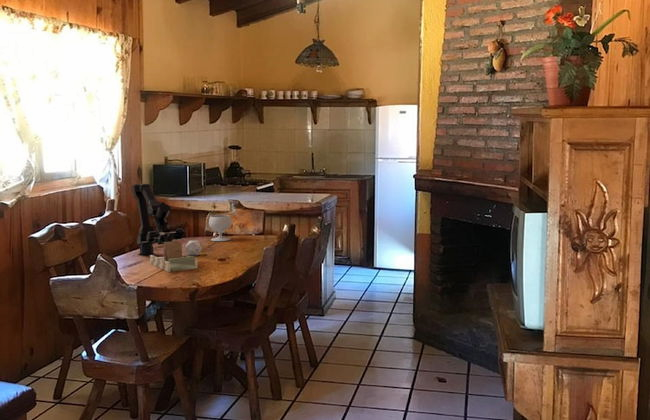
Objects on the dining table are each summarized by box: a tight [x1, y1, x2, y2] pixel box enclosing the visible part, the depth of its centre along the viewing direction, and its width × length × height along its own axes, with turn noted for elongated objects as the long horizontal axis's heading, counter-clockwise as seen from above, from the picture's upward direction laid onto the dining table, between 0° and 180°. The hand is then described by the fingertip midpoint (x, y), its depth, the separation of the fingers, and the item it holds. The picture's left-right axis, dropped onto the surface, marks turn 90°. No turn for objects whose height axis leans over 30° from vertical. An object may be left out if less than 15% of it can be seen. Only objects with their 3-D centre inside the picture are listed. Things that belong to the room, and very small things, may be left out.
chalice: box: [208, 214, 233, 242], centre depth 411 cm, size 14×14×15 cm
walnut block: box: [163, 240, 183, 262], centre depth 335 cm, size 6×7×9 cm
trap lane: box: [149, 253, 198, 273], centre depth 335 cm, size 24×15×6 cm, turn 35°
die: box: [184, 240, 203, 257], centre depth 364 cm, size 8×9×10 cm
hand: (170, 248), depth 337 cm, fingers closed, pressing on walnut block
